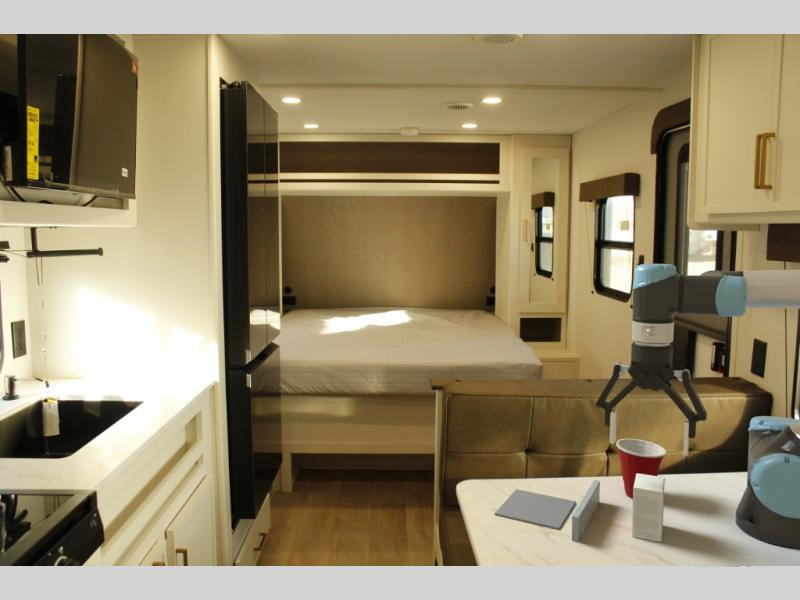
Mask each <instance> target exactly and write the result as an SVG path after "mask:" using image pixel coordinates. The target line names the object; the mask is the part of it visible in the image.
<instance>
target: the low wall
mask: <svg viewBox="0 0 800 600" xmlns="http://www.w3.org/2000/svg"><path fill="white" fill-rule="evenodd" d="M600 487H601V481H600V480H597V479H594V480H593V481H592V483H591V485H590V486H589V488H588V489H587V491H586V493H585V495H584V496H583V498H582V499H581V501H580V503H579V505H578V506H577V508H576V510H574V512H573V514H572V516H571V541H573V542H577V543H578V542H579V541H580V539H581V537H582V535H583V534H584V531H585V530H586V528H587V526H588V524H589V523H590V521H591V519H592V517H593V515H594V513H595V511H596V509H597V508H598V505H599V503H600V499H601V498H600V497H601V496H600V494H601V492H600V491H601V490H600V489H601V488H600Z"/></svg>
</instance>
